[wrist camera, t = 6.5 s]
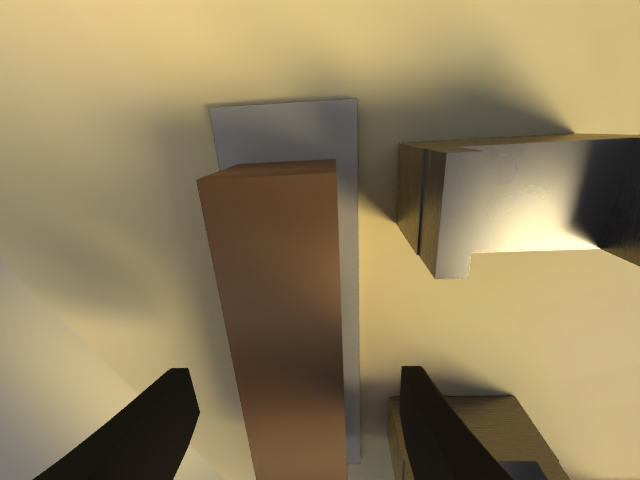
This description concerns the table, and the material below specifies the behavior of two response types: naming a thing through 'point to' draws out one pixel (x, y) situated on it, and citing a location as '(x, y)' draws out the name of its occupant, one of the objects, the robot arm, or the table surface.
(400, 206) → the post
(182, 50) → the table surface
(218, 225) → the rail
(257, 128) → the mat
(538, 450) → the post
